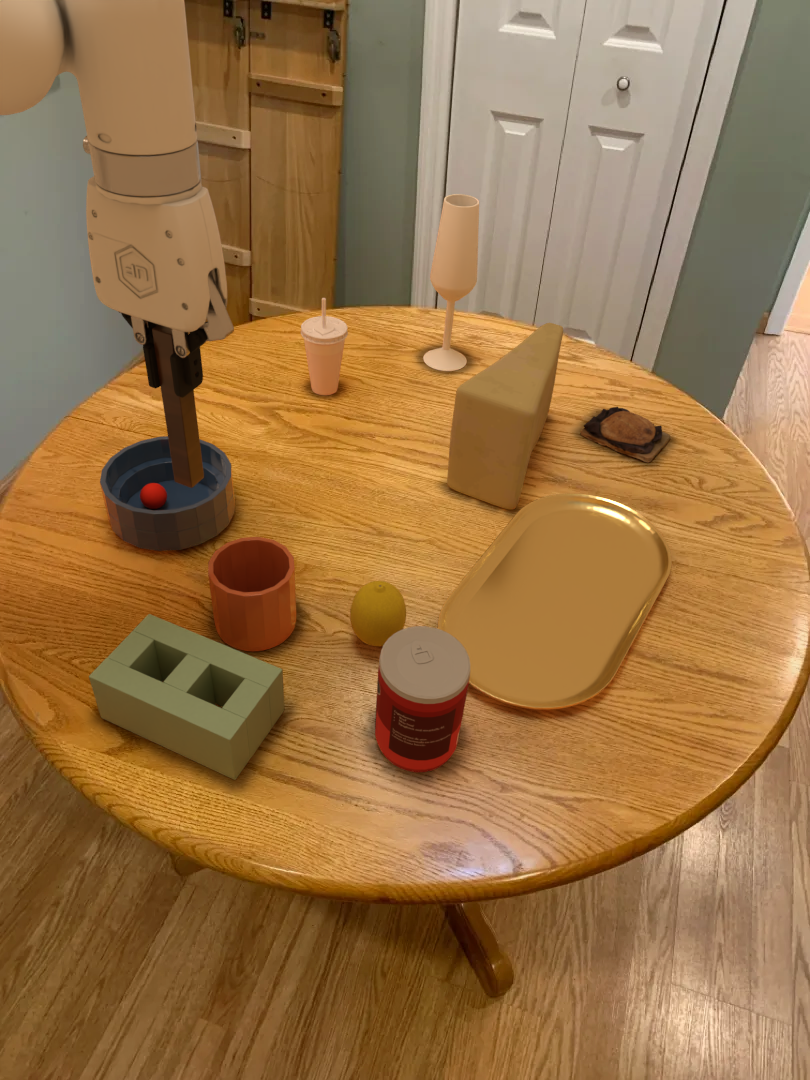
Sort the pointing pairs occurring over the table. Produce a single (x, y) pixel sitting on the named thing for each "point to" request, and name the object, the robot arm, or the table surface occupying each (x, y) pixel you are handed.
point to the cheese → (503, 419)
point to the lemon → (377, 612)
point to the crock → (253, 593)
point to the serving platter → (557, 600)
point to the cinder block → (189, 694)
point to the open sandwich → (626, 433)
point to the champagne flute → (454, 269)
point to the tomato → (153, 495)
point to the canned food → (420, 697)
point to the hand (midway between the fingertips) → (176, 383)
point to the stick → (178, 415)
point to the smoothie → (324, 350)
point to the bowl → (185, 510)
